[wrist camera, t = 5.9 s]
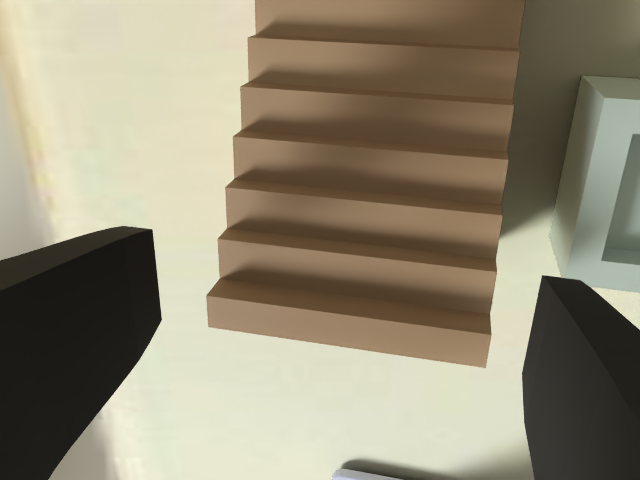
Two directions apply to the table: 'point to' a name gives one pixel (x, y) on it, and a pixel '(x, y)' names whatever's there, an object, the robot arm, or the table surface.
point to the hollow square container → (601, 188)
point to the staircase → (371, 175)
